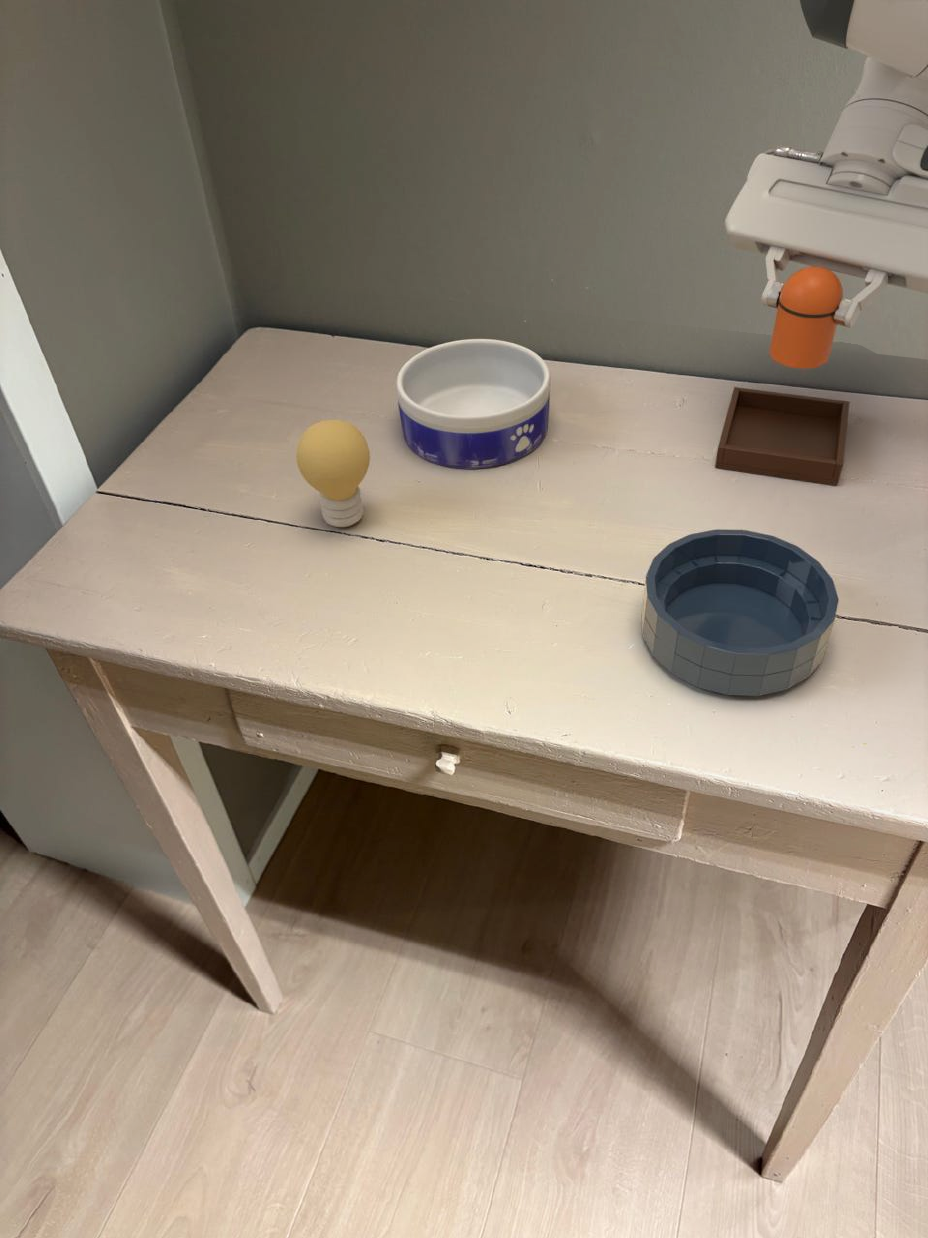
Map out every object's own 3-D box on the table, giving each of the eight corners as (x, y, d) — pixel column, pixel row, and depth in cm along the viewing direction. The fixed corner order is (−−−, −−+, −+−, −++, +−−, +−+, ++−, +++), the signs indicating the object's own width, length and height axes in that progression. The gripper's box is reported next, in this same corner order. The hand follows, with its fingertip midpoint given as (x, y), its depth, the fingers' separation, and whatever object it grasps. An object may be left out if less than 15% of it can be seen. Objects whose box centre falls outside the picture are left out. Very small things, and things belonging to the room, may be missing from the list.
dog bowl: (491, 488, 91) (489, 434, 87) (370, 439, 98) (363, 387, 94) (578, 415, 100) (580, 363, 95) (461, 375, 107) (458, 324, 102)
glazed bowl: (862, 651, 74) (879, 604, 70) (724, 729, 69) (734, 682, 65) (736, 554, 83) (745, 508, 79) (605, 617, 78) (609, 571, 74)
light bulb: (310, 501, 91) (292, 409, 84) (377, 495, 91) (365, 403, 84) (308, 543, 86) (289, 450, 80) (379, 537, 87) (365, 443, 80)
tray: (844, 422, 96) (849, 401, 95) (837, 486, 89) (843, 464, 87) (730, 407, 99) (734, 386, 98) (714, 467, 92) (718, 446, 90)
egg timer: (842, 357, 86) (863, 271, 81) (799, 375, 85) (817, 288, 79) (798, 334, 90) (816, 250, 84) (756, 351, 88) (771, 266, 82)
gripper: (756, 122, 84) (689, 271, 86) (999, 163, 75) (920, 330, 76) (769, 160, 90) (706, 299, 91) (997, 203, 80) (923, 357, 82)
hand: (805, 314), depth 84 cm, fingers closed on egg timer, 5 cm apart
